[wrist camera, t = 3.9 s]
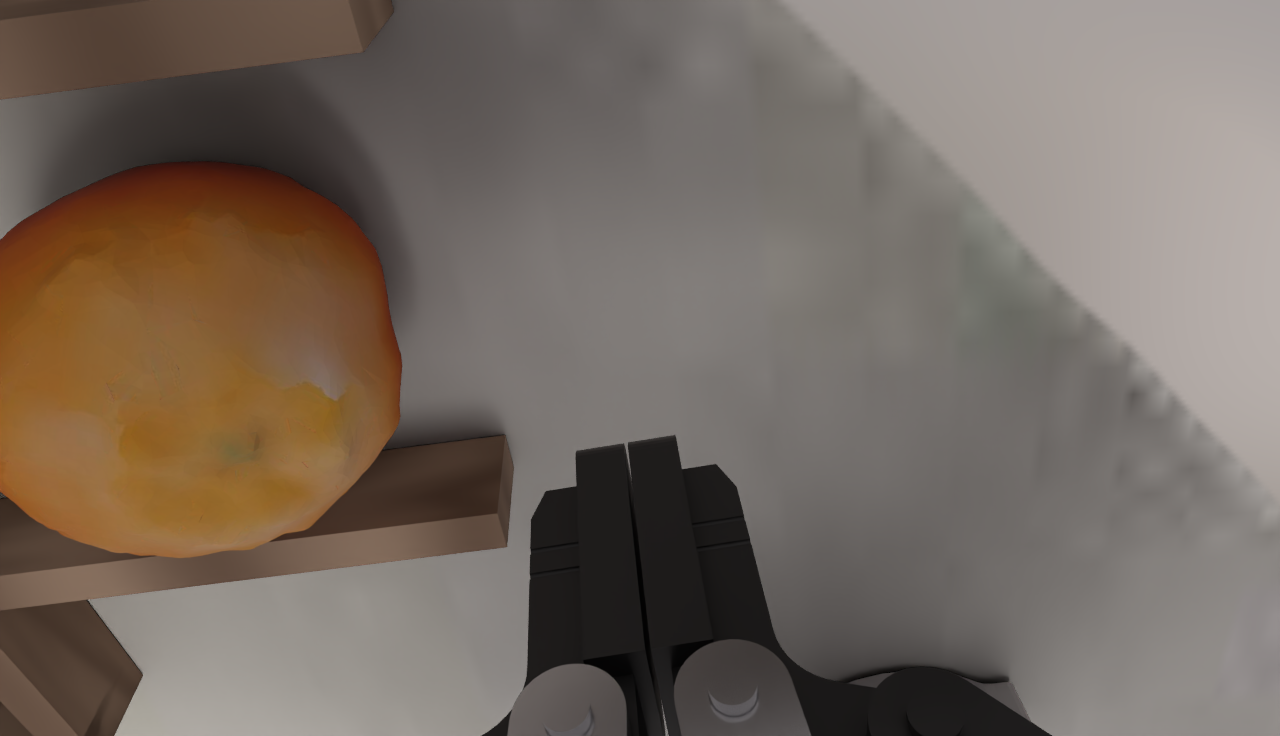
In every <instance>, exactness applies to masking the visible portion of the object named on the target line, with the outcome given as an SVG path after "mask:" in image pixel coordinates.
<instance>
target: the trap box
mask: <svg viewBox="0 0 1280 736" xmlns="http://www.w3.org/2000/svg"><path fill="white" fill-rule="evenodd" d="M393 13H394V10H393V6H392V2H391V0H0V100H1V99H8V98H16V97H24V96H31V95H39V94H47V93H54V92H62V91H70V90H77V89H85V88H93V87H100V86H108V85H116V84H123V83H131V82H139V81H146V80H154V79H162V78H170V77H177V76H185V75H193V74H200V73H208V72H216V71H223V70H231V69H239V68H246V67H254V66H262V65H269V64H277V63H285V62H292V61H300V60H308V59H315V58H323V57H331V56H338V55H346V54H354V53H361V52H364V51H365V49H366V48H367V47H368V45H369V44H370V43H371V41H372V40H373V39H374V38H375V36H376V35H377V34H378V32H379V31H380V30H381V28H382V27H383V26H384V24H385V23H386V22H387V20H388V19H389V18H390V17H391V15H392V14H393ZM513 471H514V466H513V463H512V459H511V455H510V451H509V447H508V444H507V440H506V436H505V435H502V436H494V437H486V438H478V439H470V440H462V441H455V442H447V443H439V444H431V445H423V446H415V447H407V448H399V449H391V450H383V451H381V452H380V454H379V455H378V457H377V458H376V459H375V461H374V462H373V463H372V465H371V466H370V467H369V468H368V469H367V470H366V471H365V472H364V473H363V474H362V475H361V477H360V478H359V479H358V480H357V481H356V483H355V484H354V485H353V486H351V488H350V489H349V490H348V491H347V492H346V493H345V494H344V495H342V496H341V497H340V498H339V499H338V500H337V501H336V502H335V503H334V504H333V505H332V506H331V507H330V508H329V509H328V510H327V511H326V512H325V513H324V514H323V515H322V516H321V517H320V518H319V519H318V520H317V521H316V522H315V523H314V524H313V525H312V526H311V527H310V528H308V529H306V530H304V531H299V532H292V533H285V534H283V535H281V536H279V537H277V538H275V539H273V540H271V541H269V542H267V543H264V544H262V545H259V546H257V547H255V548H253V549H251V550H229V551H221V552H217V553H212V554H207V555H203V556H196V557H190V558H173V557H163V556H155V555H148V556H140V555H134V554H130V553H114V552H110V551H107V550H105V549H102V548H98V547H95V546H92V545H88V544H85V543H81V542H78V541H75V540H73V539H70V538H68V537H65V536H63V535H61V534H60V533H59V532H58V531H56V530H52V529H49V528H47V527H46V526H44V525H43V524H41V523H39V522H37V521H36V520H35V519H33V518H31V517H30V516H29V515H27V514H26V513H25V512H24V511H23V510H22V509H21V508H20V507H19V506H18V505H16V504H15V503H14V502H13V501H12V500H10V499H9V498H3V499H0V736H114V735H115V733H116V731H117V729H118V727H119V724H120V722H121V720H122V718H123V716H124V714H125V712H126V710H127V708H128V706H129V704H130V701H131V699H132V697H133V695H134V693H135V691H136V689H137V687H138V685H139V683H140V681H141V678H142V676H143V675H142V673H141V672H140V671H139V670H138V668H137V667H136V666H135V664H134V663H133V662H132V660H131V659H130V658H129V656H128V655H127V654H126V652H125V651H124V650H123V648H122V647H121V646H120V644H119V643H118V642H117V640H116V639H115V638H114V636H113V635H112V634H111V632H110V631H109V630H108V628H107V627H106V626H105V624H104V623H103V622H102V620H101V619H100V618H99V616H98V615H97V614H96V613H95V611H94V610H93V609H92V607H91V606H90V605H89V603H88V602H87V601H86V600H88V599H96V598H104V597H112V596H120V595H128V594H136V593H144V592H152V591H160V590H168V589H176V588H184V587H192V586H200V585H208V584H216V583H224V582H232V581H240V580H248V579H256V578H264V577H272V576H280V575H288V574H296V573H304V572H312V571H320V570H328V569H336V568H344V567H352V566H360V565H368V564H376V563H384V562H392V561H400V560H408V559H416V558H424V557H432V556H440V555H448V554H456V553H464V552H472V551H480V550H488V549H496V548H504V547H507V542H508V530H509V518H510V506H511V494H512V483H513Z"/></svg>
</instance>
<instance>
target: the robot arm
mask: <svg viewBox="0 0 1280 736" xmlns="http://www.w3.org/2000/svg"><path fill="white" fill-rule="evenodd" d="M628 450H629V459H630V468H631V475H630V470H629V465H628V459H627V454H626V449H625V445H624V443H623V444H617V445H611V446H604V447H598V448H592V449H586V450H579V451H576V481H577V486H576V487H569V488H563V489H557V490H550V491H546V492H545V494H544V496H543V498H542V500H541V502H540V503H539V505H538V507H537V509H536V511H535V513H534V515H533V517H532V519H531V546H530V549H531V555H530V578H531V580H530V585H529V625H528V664H527V677H526V681H525V685H524V688H523V691H522V692H521V693H520V695H519V696H518V698H517V700H516V701H515V703H514V706H513V708H512V710H511V711H510V712H509V714H508V715H507V716H506V717H505V718H504V719H503V720H502V721H501V722H500V723H499V724H498V725H496V726H495V727H494V728H492V729H491V730H490V731H488V732H487V733H485V734H483V735H482V736H665V727H664V719H663V710H664V714H665V719H666V724H667V729H668V734H669V736H1052V735H1050V734H1049V733H1047V732H1046V731H1044V730H1042V729H1041V728H1039V727H1038V726H1036V725H1035V724H1033V723H1032V722H1031V720H1030V718H1029V716H1028V714H1027V712H1026V710H1025V708H1024V706H1023V704H1022V702H1021V700H1020V698H1019V696H1018V694H1017V692H1016V690H1015V688H1014V686H1013V684H1012V683H1011V682H1003V683H995V684H982V683H979V682H975V681H972V680H970V679H967V678H964V677H961V676H958V675H956V674H954V673H951V672H948V671H946V670H942V669H938V668H931V667H913V668H908V669H903V670H901V671H898V672H893V673H884V674H879V675H875V676H870V677H866V678H862V679H858V680H854V681H852V682H849V683H843V682H836V681H832V680H828V679H824V678H821V677H819V676H816V675H814V674H812V673H810V672H808V671H806V670H804V669H803V668H801V667H800V666H799V665H797V664H796V663H795V662H793V661H792V660H791V659H790V658H789V657H788V656H787V655H786V653H785V652H784V651H783V649H782V648H781V647H780V645H779V643H778V641H777V639H776V637H775V634H774V631H773V627H772V624H771V620H770V616H769V612H768V608H767V604H766V600H765V596H764V592H763V588H762V584H761V580H760V577H759V573H758V569H757V565H756V561H755V557H754V553H753V549H752V545H751V543H750V537H749V534H748V530H747V526H746V522H745V520H744V514H743V510H742V506H741V502H740V498H739V494H738V491H737V487H736V486H735V485H734V483H733V482H732V481H731V480H730V479H729V478H728V477H727V476H726V475H725V473H724V472H723V471H722V470H721V469H720V468H719V467H718V466H717V465H716V464H714V465H707V466H701V467H695V468H688V469H682V468H681V463H680V457H679V452H678V446H677V441H676V436H675V435H673V436H666V437H660V438H654V439H647V440H641V441H635V442H628ZM631 477H632V480H631ZM661 700H662V702H661ZM662 705H663V710H662Z"/></svg>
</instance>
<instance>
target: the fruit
mask: <svg viewBox="0 0 1280 736" xmlns="http://www.w3.org/2000/svg"><path fill="white" fill-rule="evenodd" d="M401 373H402V360H401V353H400V351H399V347H398V344H397V340H396V337H395V333H394V329H393V326H392V321H391V316H390V311H389V306H388V296H387V291H386V286H385V281H384V275H383V270H382V266H381V263H380V260H379V257H378V254H377V252H376V249H375V248H374V246H373V245H372V243H371V242H370V241H369V240H368V238H367V237H366V236H365V235H364V233H363V232H362V231H361V229H360V227H359V226H358V225H357V224H356V222H355V221H354V220H353V219H352V218H351V217H350V216H349V215H348V214H346V213H345V212H344V211H343V210H342V209H341V208H340V207H338V206H337V205H336V204H334V203H333V202H331V201H329V200H328V199H326V198H325V197H323V196H321V195H319V194H317V193H316V192H314V191H312V190H309V189H307V188H305V187H303V186H302V185H300V184H299V183H297V182H296V181H295V180H293V179H292V178H290V177H287V176H285V175H282V174H280V173H277V172H274V171H271V170H268V169H264V168H259V167H253V166H246V165H239V164H232V163H225V162H212V161H194V162H169V163H159V164H152V165H145V166H139V167H135V168H131V169H128V170H125V171H122V172H119V173H116V174H114V175H111V176H108V177H106V178H104V179H101V180H99V181H97V182H95V183H93V184H90V185H88V186H86V187H84V188H82V189H79V190H77V191H75V192H73V193H71V194H68V195H66V196H64V197H62V198H60V199H58V200H57V201H55V202H53V203H52V204H50V205H48V206H46V207H45V208H43V209H41V210H39V211H38V212H36V213H34V214H33V215H31V216H29V217H27V218H26V219H24V220H23V221H21V222H20V223H19V224H17V225H16V226H15V227H14V228H12V229H11V230H10V231H9V232H8V233H7V234H6V235H5V236H4V237H3V238H2V239H1V240H0V492H1V493H3V494H4V495H5V496H6V497H8V498H9V499H10V500H12V501H13V502H14V503H15V504H16V505H18V506H19V507H20V508H21V509H22V510H23V511H24V512H25V513H26V514H27V515H29V516H30V517H31V518H33V519H35V520H36V521H37V522H39V523H41V524H43V525H44V526H46V527H47V528H49V529H52V530H56V531H58V532H59V533H60V534H61V535H63V536H65V537H68V538H70V539H73V540H75V541H78V542H81V543H85V544H88V545H92V546H95V547H98V548H102V549H105V550H107V551H110V552H114V553H130V554H134V555H140V556H148V555H155V556H163V557H173V558H190V557H196V556H203V555H207V554H212V553H217V552H221V551H229V550H251V549H253V548H255V547H257V546H259V545H262V544H264V543H267V542H269V541H271V540H273V539H275V538H277V537H279V536H281V535H283V534H285V533H292V532H299V531H304V530H306V529H308V528H310V527H311V526H312V525H313V524H314V523H315V522H316V521H317V520H318V519H319V518H320V517H321V516H322V515H323V514H324V513H325V512H326V511H327V510H328V509H329V508H330V507H331V506H332V505H333V504H334V503H335V502H336V501H337V500H338V499H339V498H340V497H341V496H342V495H344V494H345V493H346V492H347V491H348V490H349V489H350V488H351V486H353V485H354V484H355V483H356V481H357V480H358V479H359V478H360V477H361V475H362V474H363V473H364V472H365V471H366V470H367V469H368V468H369V467H370V466H371V465H372V463H373V462H374V461H375V459H376V458H377V457H378V455H379V454H380V452H381V451H382V449H383V448H384V446H385V445H386V443H387V442H388V440H389V439H390V438H391V436H392V435H393V434H394V432H395V430H396V428H397V426H398V424H399V420H400V406H399V402H400V385H401Z"/></svg>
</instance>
